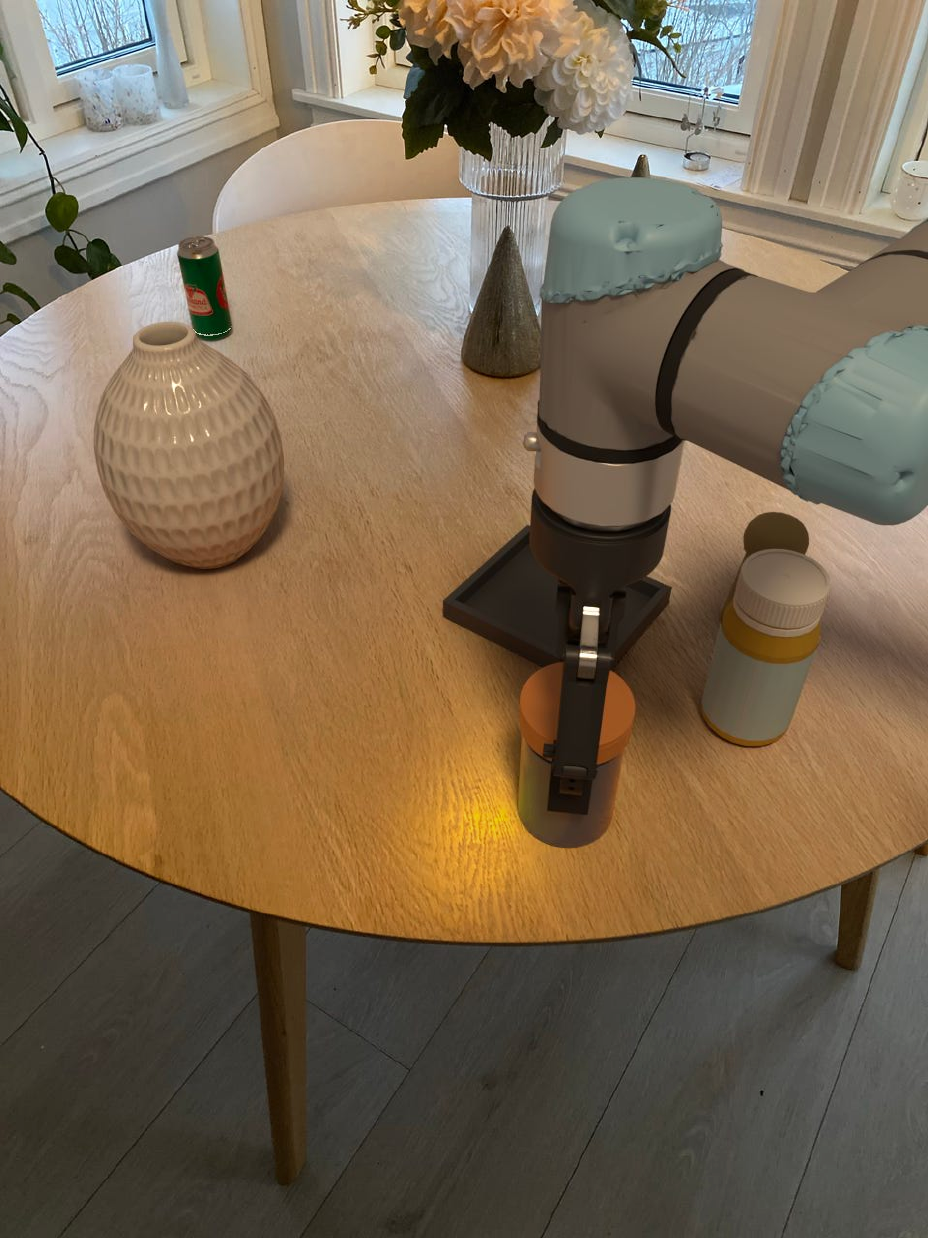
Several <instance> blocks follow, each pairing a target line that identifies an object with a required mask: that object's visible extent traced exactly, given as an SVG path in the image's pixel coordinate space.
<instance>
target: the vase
mask: <svg viewBox="0 0 928 1238" xmlns="http://www.w3.org/2000/svg"><path fill="white" fill-rule="evenodd" d="M93 451H94V452H93V454H94V459H95V464H96V469H97V470H96V471H97V475H98V478H99V480H100V484H101V486H102V489H103V492H104V494H105V496H106V498H107V500H108V503H109V504H110V506H111V508H112V510H113V511H114V514H115V515H116V516H117V518H118V519H119V520H120V521H121V522H122V523H123V525H124V526H125V527H126V528H127V529H128V531H129V532H130V533H131V534H132V535H133V536H134V537H135V538H136V539H138V540H139V541H140V542H141V543H143V544H144V545H145V546H147V547H148V548H149V549H150V550H152V551H153V552H155V553H157V554H159V555H160V556H162V557H163V558H165V559H168V560H169V561H172V562H175V563H177V564H180V565H183V566H185V567H189V568H194V569H200V570H212V569H219V568H223V567H225V566H228V565H230V564H232V563H234V562H236V561H237V560H239V559H241V558H242V557H243V556H244V555H245V554H246V553H248V552H249V551H250V550H251V548H253V547H254V546H255V545H256V544H257V543H258V542H259V540H260V539H261V537H263V534H264V533H265V532H266V530H267V529H268V527H269V526H270V524H271V521H272V520H273V518H274V515H275V513H276V511H277V509H278V508H279V504H280V501H281V500H280V499H281V495H282V492H283V487H284V480H285V455H284V450H283V441H282V437H281V433H280V430H279V426H278V422H277V420H276V416H275V415H274V412H273V410H272V408H271V406H270V404H269V402H268V400H267V398H266V396H264V394H263V392H262V391H261V390H260V387H258V385H257V384H256V382H255V381H254V380H253V379H252V378H251V377H250V376H249V374H248V373H247V372H246V371H245V370H244V369H243V368H241V367H240V366H239V365H238V364H237V363H235V362H234V361H233V360H232V359H230V358H229V357H227V356H226V355H224V354H223V353H221V352H220V351H218V350H216V349H215V348H213V347H212V346H210V345H208V344H206V343H205V342H203V340H202V341H201V339H200V338H198V337H197V336H196V333H195V331H194V330H193V328H192V326H190V325H188V324H186V323H184V322H179V321H161V322H155V323H152V324H148V325H146V326H144V327H142V328H141V329H139V330H138V331H136V333H135V334H134V335H133V337H132V349H131V351H130V352H129V353H128V355H127V357H125V359H124V360H123V362H122V363H121V364H120V365H119V366H118V368H117V369H116V371H115V372H114V373H113V375H111V377H110V379H109V381H108V383H107V384H106V386H105V388H104V390H103V392H102V394H101V396H100V399H99V402H98V406H97V409H96V415H95V420H94V426H93Z"/></svg>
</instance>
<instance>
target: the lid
mask: <svg viewBox="0 0 928 1238" xmlns="http://www.w3.org/2000/svg"><path fill="white" fill-rule="evenodd" d="M562 673H563V662H558V663H554V664H551V665H548V666H546V667H541V668H540V669H538V670H537V671H535V672H534V673H533V674H532V675H530V676H529V678H527V680H526V681H525V683H524V685H523V686H522V689H521V692H520V697H519V710H518V712H519V713H518V714H519V715H518V725H519V730H520V734H521V736H522V735H523V737H524V739H525V741H526V742H527V744H528V745H529V746H530V747H531V748H532V749H533V750H534V751H535V752H536V753H538V754H539V755H541V756H542V757H543V746H544V743H546V744H553V742H554V740H556V738H557V727H558V716H559V706H560V695H561V684H562ZM636 710H637V709H636V699H635V697H634V694H633V692H632V689H631V688H630V687H629V685H628V684H627V682H626V681H625V680H623V679H622V677H621V676H619V675H618V674H617V673H615V672H614V671H613V670H612V671H610V672H609V677H608V683H607V690H606V697H605V705H604V713H603V720H602V728H601V736H600V743H599V751H598V759H597V765H599V764H602V763H605V762H607V761H609V760H611V759H613V758H614V757H616V756H617V755H618V754H620V753H621V752H622V750H623V749H624V750H625V748H626V747H627V746H628V744H629V742H630V740H631V738H632V733H633V727H634V723H635V716H636ZM545 759H547V760H549V761H552V759H550V758H545Z"/></svg>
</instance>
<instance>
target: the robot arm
mask: <svg viewBox="0 0 928 1238" xmlns="http://www.w3.org/2000/svg"><path fill="white" fill-rule="evenodd" d="M722 235H723V215H722V212H721V209H720V207H719V206H718V204H717V203H716V202H715V201H714V200H713V199H712V197H710V196H705V195H703V193H701V192H700V191H699V189H697V188H695V187H693V186H691V185H688V184H686V183H685V184H684V183H681V182H679V181H675V180H668V179H662V178H655V177H643V176H642V177H640V176H639V177H635V176H633V177H632V176H631V177H630V176H629V177H615V178H607V179H602V180H598V181H595V182H591V183H589V184H587V185H584V186H582V187H580V188H576V189H574V190H573V191H571V192H570V193H569V194H567V195H566V196H565V197H563V199H562V200H561V201H560V202H559V203H558V204H557V206H556V208H555V210H554V212H553V214H552V217H551V220H550V226H549V234H548V243H547V250H546V251H547V252H546V259H545V261H546V262H545V268H544V276H543V283H542V284H541V286H540V289H539V297H540V301H541V302H540V303H541V306H540V308H541V309H540V362H539V363H540V364H539V365H540V367H539V368H540V369H539V371H540V373H539V378H540V379H539V398H538V399H539V400H537V413H536V431H535V432H534V431H528V432H526V433H525V434H524V437H523V439H522V440H523V441H522V446H523V448H524V449H525V450H526V451H527V452H535V456H534V469H533V486H534V487H533V488H534V489H533V490H532V493H531V503H530V522H529V526H530V537H529V541H530V547H531V550H532V553H533V555H534V557H535V558H536V560H537V561H538V563H539V564H540V565H541V566H542V567H543V568H544V569H545V570H546V571H548V572H549V573H550V574H552V575H553V576H555V577H557V578H558V582H559V583H560V584H558V585H557V597H556V608H555V611H556V614H557V616H558V617H559V624H558V635H557V646H556V654H557V656H558V657H559V658H560V662H563V673H562V684H561V695H560V706H559V716H558V727H557V738H556V740H554V742H553V744H546V743H544V746H543V757H542V758H550V759H552V763H551V773H550V783H549V794H548V805H547V811H552V812H562V813H571V814H580V815H588V809H589V802H590V795H591V788H592V782H593V780H595V778H596V774H598V766H597V759H598V751H599V743H600V736H601V728H602V720H603V713H604V705H605V697H606V690H607V683H608V677H609V672H610V666H611V664H612V665H613V661H614V658H615V652H616V643H617V634H618V625H619V623H620V622H621V620H622V619H623V617H624V612H625V603H626V590H623V589H621V588H623V587H624V586H627V585H629V584H632V583H635V582H637V581H639V580H641V579H643V578H644V577H646V576H648V575H650V574H651V573H653V571H654V570H655V569H656V568H657V567H658V566H659V564H660V563H661V561H662V558H663V555H664V553H665V546H666V541H667V535H668V530H669V524H670V520H671V519H670V518H671V513H672V503H673V501H674V498H675V495H676V491H677V485H678V480H679V475H680V469H681V464H682V458H683V455H684V454H683V452H684V447H685V443H686V442H689V443H691V444H694V446H695V445H696V446H698V447H699V448H702V449H704V450H706V451H707V452H710V453H712V454H714V455H716V456H718V457H721V458H722V459H724V460H727V461H729V462H731V463H732V464H735V465H736V466H739V467H740V468H742V469H745V470H746V471H748V472H751V473H752V474H754V475H757V476H759V477H761V478H763V479H765V480H767V481H769V482H771V483H774V485H777V486H779V487H781V488H784V489H785V490H787V491H790V492H791V493H792V494H793V495H794V496H797V497H798V498H799V499H801V500H802V501H805V502H807V503H808V502H810V503H813V505H814V504H815V505H817V506H818V505H820V504H823V505H825V506H828V507H831V508H833V509H836V510H838V511H840V512H842V513H843V512H844V513H846V514H849V515H851V516H853V517H857V518H858V519H862V520H864V521H867V522H869V523H872V524H874V525H878V526H897V525H901V524H904V523H907V522H908V521H911V520H912V519H914V518H916V517H917V516H918V515H919V514H921V513H922V512H923V511H924V510H925V509H926V508H927V507H928V217H927V218H925V219H924V220H923V221H922V222H919V224H917V225H915V226H913V227H912V228H911V229H910V230H909V231H908V232H907V233H906V234H904V235H902V236H901V237H900V238H898V239H896V240H895V241H894V242H892V243H890V244H889V245H887V246H886V247H884V248H882V249H881V250H879V251H878V252H877V253H875V254H873V255H872V256H871V257H868V258H867V259H866V260H865V261H863V262H861V263H859V264H858V265H856V266H855V267H853V268H852V269H850V270H849V271H848V272H846V273H845V274H842V275H841V276H839V277H837V278H836V279H834V280H832V281H831V282H829V283H828V284H826V285H825V286H823V287H821V288H820V289H818V290H816V291H815V292H812V291H807V290H803V289H800V288H797V287H794V286H791V285H788V284H785V283H782V282H778V281H775V280H772V279H769V278H765V277H762V276H758V275H757V274H754V273H752V272H748V271H745V270H744V269H743V268H740V267H737V266H735V265H731V264H729V263H726V262H724V261H723V260H721V258H722V249H723V247H724V245H723V242H722V237H723V236H722ZM607 629H608V631H607Z"/></svg>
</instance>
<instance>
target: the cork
mask: <svg viewBox="0 0 928 1238" xmlns="http://www.w3.org/2000/svg"><path fill="white" fill-rule="evenodd" d="M809 534H810V533H809V531H808V529H807V527H806V525H805V524H804V523H803V522H802V521H801V520H800V519H799V518H798V517H795V516H792V515H791V514H788V513H783V512H778V511H769V512H764V513H763V512H762V513H759V514H758V515H757V516H755V517H754V518H752V519H751V520H750V521H749V522H748V523H747V526H746V527H745V530H744V532H743V537H742V539H743V541H742V542H743V550H744V551H745V554H744V556H743V558H742V561H741V563H740V566H739V568H738V570H737V572H736V574H735V577H734V579H733V580H732V581H733V582H732V583H731V586H730V588H729V590H728V593H727V595H726V598H725V600H724V602H723V604H722V606H721V608H720V611H719V612H718V620H719V621H718V622H719V624H720V625H721V621H722V617H723V614H724V611H725V608H726V607H727V605H728V604H729V603H730V602H731V601H732V600H733V598H734V594H735V591H736V585H737V581H738V577H739V574H740V570H741V566H742V565H743V563H744V562H745V560H746V559H747V558H748V557H749V556H750V555H752V554H754V553H756V552H759V551H762V550H767V549H785V550H791V551H795V552H798V553H801V554H804V555H806V553H807V552H808V549H809V547H810V535H809Z"/></svg>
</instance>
